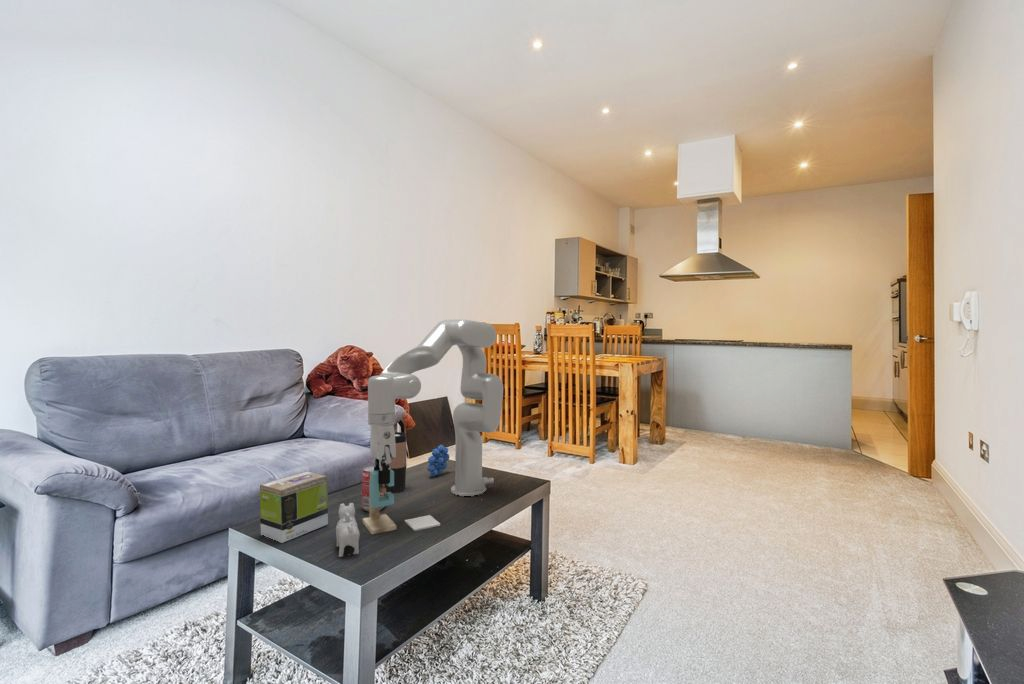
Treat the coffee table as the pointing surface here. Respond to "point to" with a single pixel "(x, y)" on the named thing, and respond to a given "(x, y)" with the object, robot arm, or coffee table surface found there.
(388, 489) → the travel mug
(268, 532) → the tea box
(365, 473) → the soda can
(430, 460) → the grapes
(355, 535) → the dog figurine
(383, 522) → the stand
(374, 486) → the c link
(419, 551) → the coffee table surface
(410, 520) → the felt mat
